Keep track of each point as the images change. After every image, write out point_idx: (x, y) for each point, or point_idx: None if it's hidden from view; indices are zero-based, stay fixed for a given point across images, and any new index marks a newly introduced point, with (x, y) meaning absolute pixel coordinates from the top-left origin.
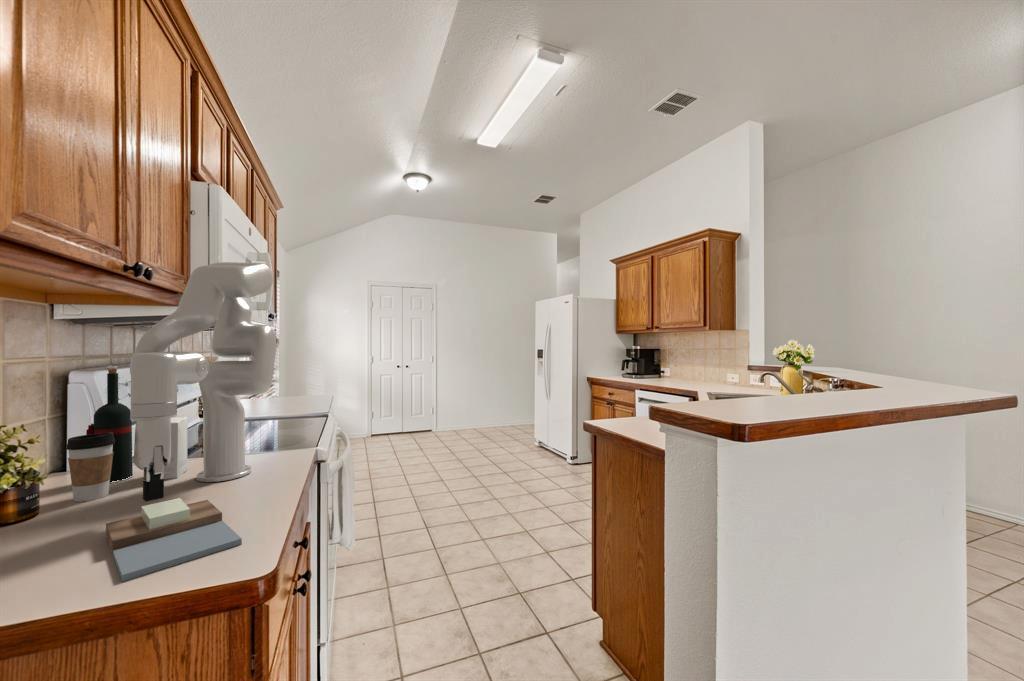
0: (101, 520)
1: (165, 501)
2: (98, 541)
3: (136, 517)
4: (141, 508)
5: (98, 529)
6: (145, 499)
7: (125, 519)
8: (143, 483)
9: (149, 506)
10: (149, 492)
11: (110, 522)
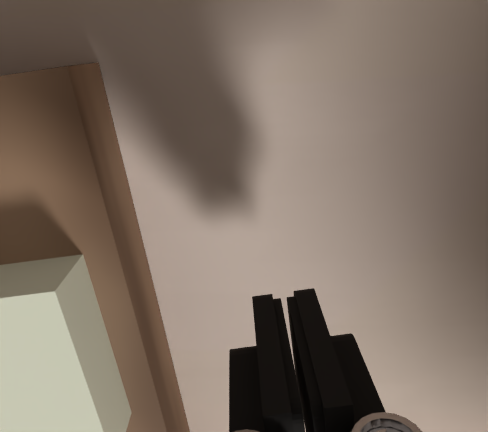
0: (485, 13)
1: (87, 406)
2: (39, 29)
3: (83, 230)
4: (60, 283)
5: (289, 10)
6: (255, 307)
7: (81, 175)
8: (318, 390)
9: (22, 332)
10: (245, 365)
11: (73, 93)
